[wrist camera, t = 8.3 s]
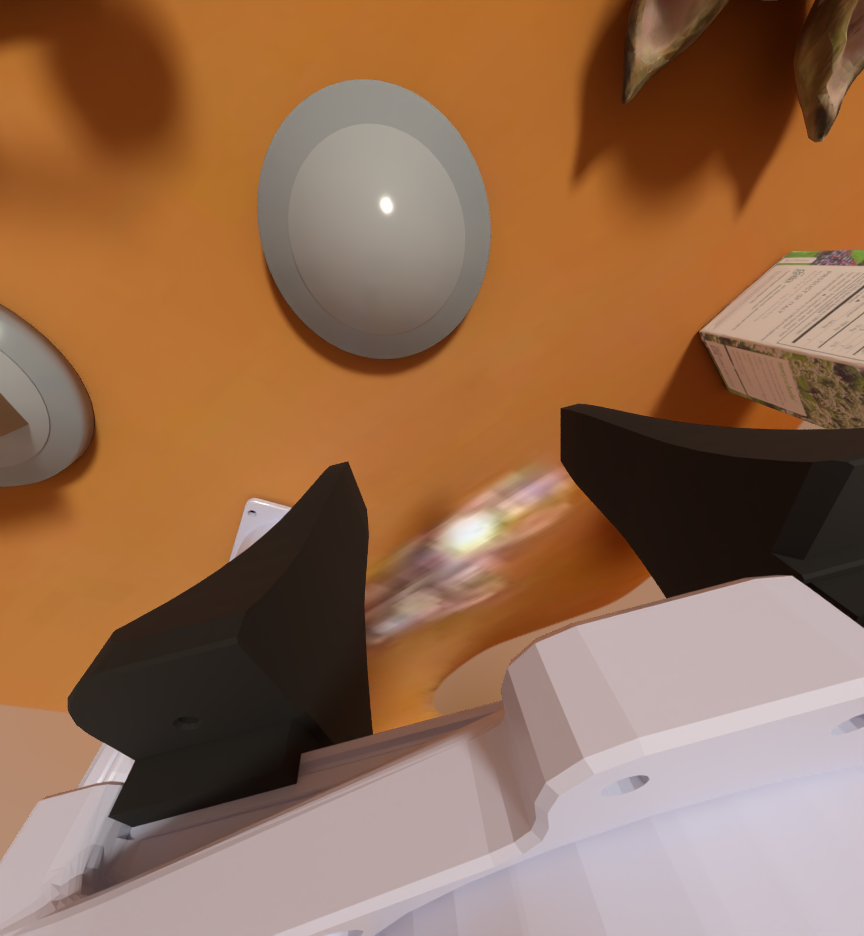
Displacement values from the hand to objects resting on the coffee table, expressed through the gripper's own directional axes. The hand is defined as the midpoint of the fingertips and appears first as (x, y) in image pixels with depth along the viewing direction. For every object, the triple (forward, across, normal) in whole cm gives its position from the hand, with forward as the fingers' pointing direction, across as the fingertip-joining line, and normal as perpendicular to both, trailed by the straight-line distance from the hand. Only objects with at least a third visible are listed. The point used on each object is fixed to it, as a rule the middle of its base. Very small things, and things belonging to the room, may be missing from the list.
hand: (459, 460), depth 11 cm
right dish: (+9, +1, -7) cm, 12 cm away
